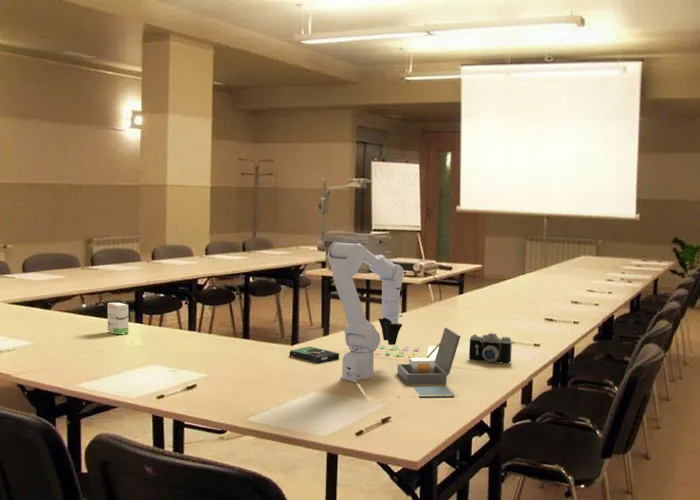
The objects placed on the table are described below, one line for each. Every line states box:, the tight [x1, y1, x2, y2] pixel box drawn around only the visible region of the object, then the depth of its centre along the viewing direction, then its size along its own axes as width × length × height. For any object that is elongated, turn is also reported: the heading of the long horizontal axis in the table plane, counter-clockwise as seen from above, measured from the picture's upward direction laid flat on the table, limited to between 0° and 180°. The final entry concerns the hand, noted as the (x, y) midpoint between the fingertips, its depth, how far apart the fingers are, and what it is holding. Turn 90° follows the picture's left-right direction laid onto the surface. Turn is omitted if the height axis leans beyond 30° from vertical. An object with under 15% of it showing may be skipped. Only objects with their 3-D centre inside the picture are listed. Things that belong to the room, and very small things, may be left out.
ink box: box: [107, 302, 129, 334], centre depth 300 cm, size 9×5×12 cm, turn 45°
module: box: [408, 357, 435, 374], centre depth 234 cm, size 7×5×6 cm
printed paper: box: [375, 344, 439, 361], centre depth 279 cm, size 30×30×2 cm
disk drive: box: [289, 346, 340, 364], centre depth 265 cm, size 10×3×15 cm
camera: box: [468, 332, 513, 364], centre depth 266 cm, size 15×7×10 cm, turn 68°
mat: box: [412, 385, 455, 399], centre depth 221 cm, size 10×10×1 cm
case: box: [397, 327, 461, 386], centre depth 235 cm, size 16×15×16 cm
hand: (389, 342), depth 247 cm, fingers open, 7 cm apart
